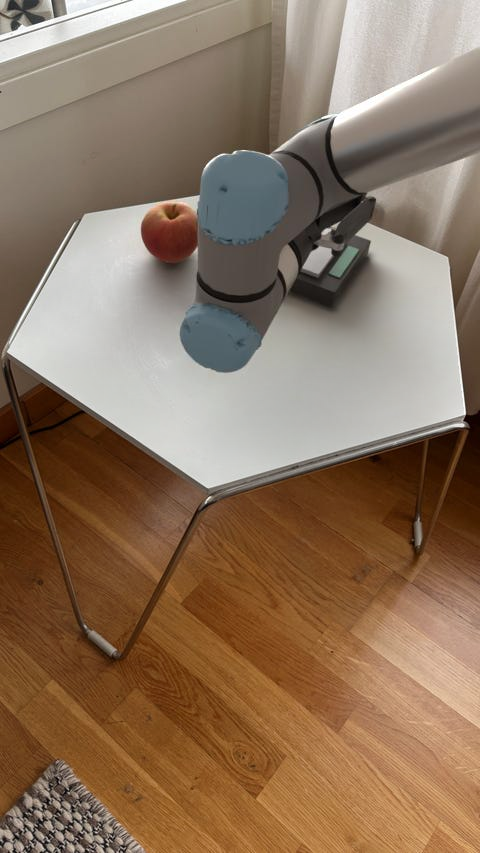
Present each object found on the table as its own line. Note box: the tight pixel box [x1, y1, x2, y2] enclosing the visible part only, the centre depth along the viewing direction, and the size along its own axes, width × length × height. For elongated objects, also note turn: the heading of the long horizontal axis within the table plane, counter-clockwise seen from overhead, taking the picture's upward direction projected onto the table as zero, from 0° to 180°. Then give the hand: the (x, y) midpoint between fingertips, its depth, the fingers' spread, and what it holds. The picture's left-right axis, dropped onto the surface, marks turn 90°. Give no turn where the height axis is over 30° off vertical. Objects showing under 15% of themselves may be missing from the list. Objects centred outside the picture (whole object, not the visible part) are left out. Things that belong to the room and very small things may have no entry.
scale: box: [289, 226, 372, 308], centre depth 96 cm, size 14×13×3 cm
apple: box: [140, 201, 198, 264], centre depth 93 cm, size 8×8×8 cm
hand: (327, 161), depth 90 cm, fingers closed on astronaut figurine, 9 cm apart
